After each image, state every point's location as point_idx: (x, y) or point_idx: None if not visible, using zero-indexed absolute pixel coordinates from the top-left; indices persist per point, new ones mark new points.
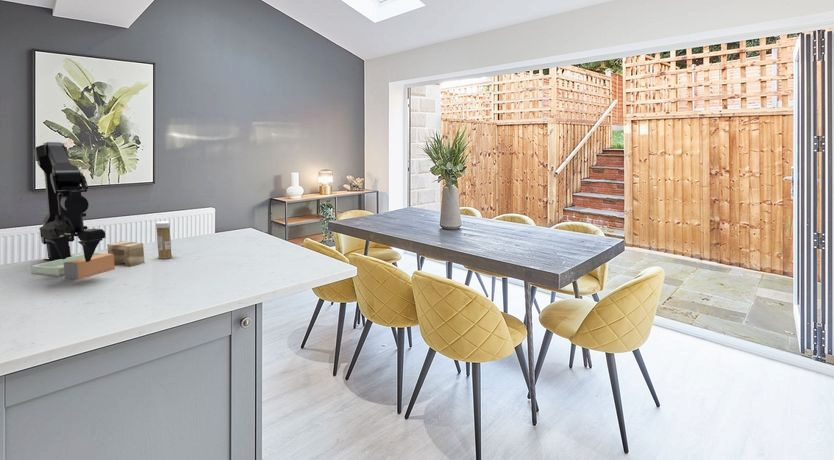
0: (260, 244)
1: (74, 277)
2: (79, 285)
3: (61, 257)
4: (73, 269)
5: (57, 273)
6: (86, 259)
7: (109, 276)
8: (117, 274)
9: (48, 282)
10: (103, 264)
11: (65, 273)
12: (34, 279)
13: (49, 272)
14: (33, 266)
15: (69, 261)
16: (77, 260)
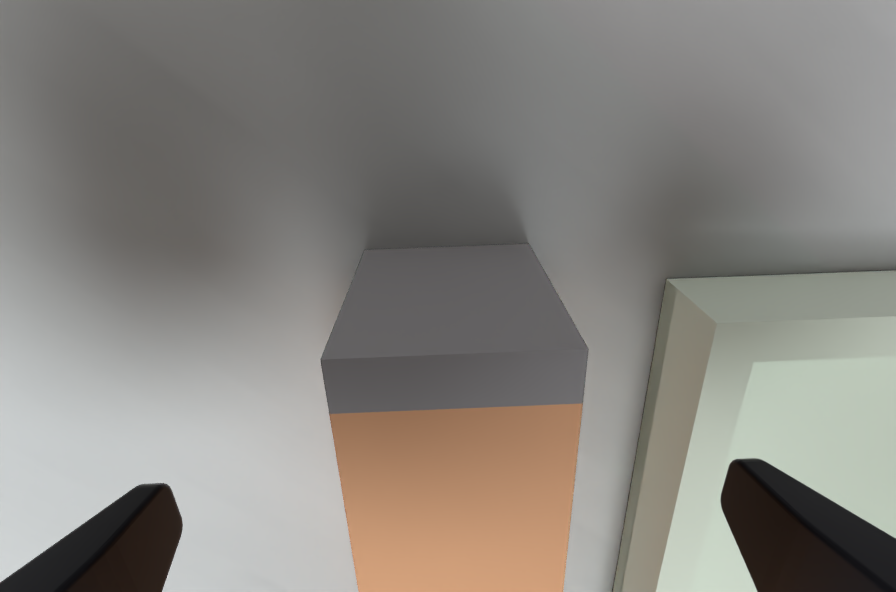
0: None
1: (374, 259)
2: (35, 68)
3: (777, 478)
4: (364, 307)
5: (707, 292)
6: (93, 517)
7: (171, 452)
8: (181, 516)
9: (565, 24)
10: None
11: (526, 269)
12: (873, 70)
13: (840, 287)
14: None
15: (569, 445)
16: (502, 522)
